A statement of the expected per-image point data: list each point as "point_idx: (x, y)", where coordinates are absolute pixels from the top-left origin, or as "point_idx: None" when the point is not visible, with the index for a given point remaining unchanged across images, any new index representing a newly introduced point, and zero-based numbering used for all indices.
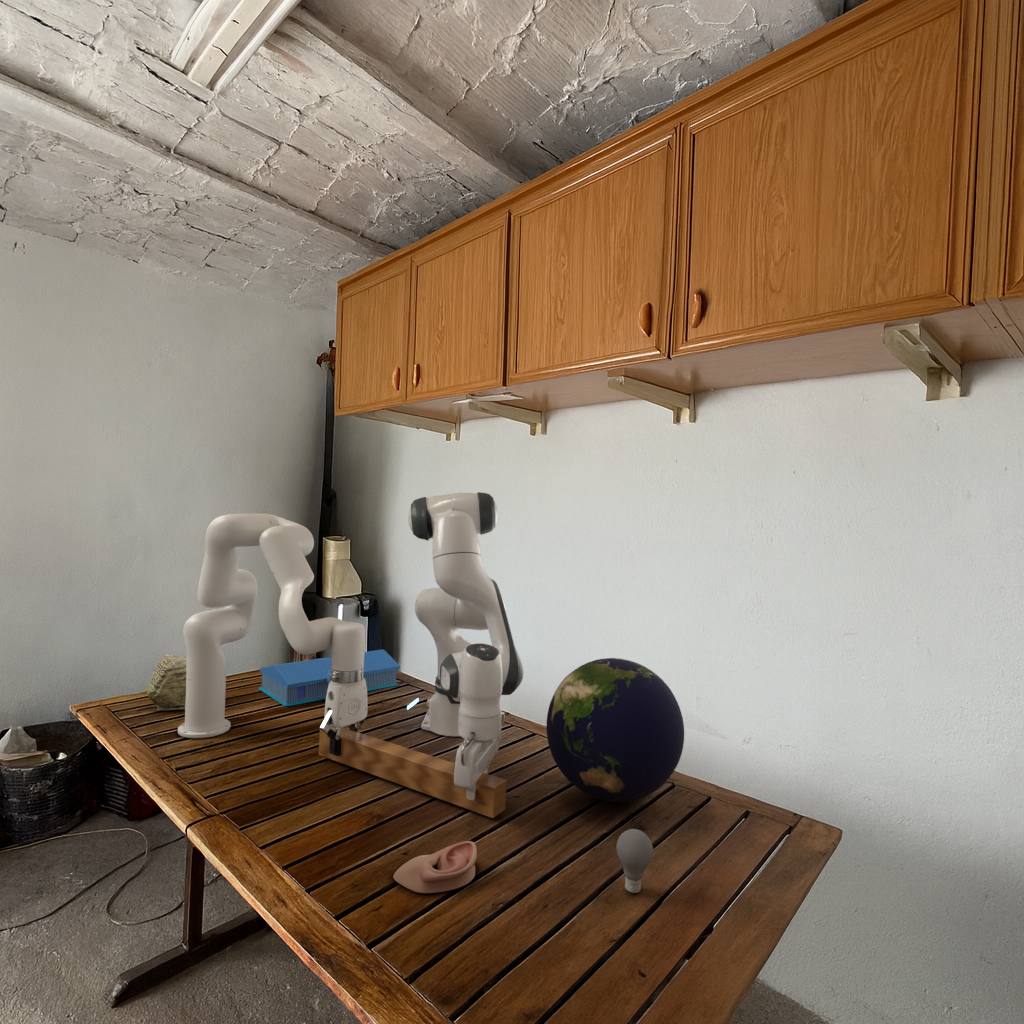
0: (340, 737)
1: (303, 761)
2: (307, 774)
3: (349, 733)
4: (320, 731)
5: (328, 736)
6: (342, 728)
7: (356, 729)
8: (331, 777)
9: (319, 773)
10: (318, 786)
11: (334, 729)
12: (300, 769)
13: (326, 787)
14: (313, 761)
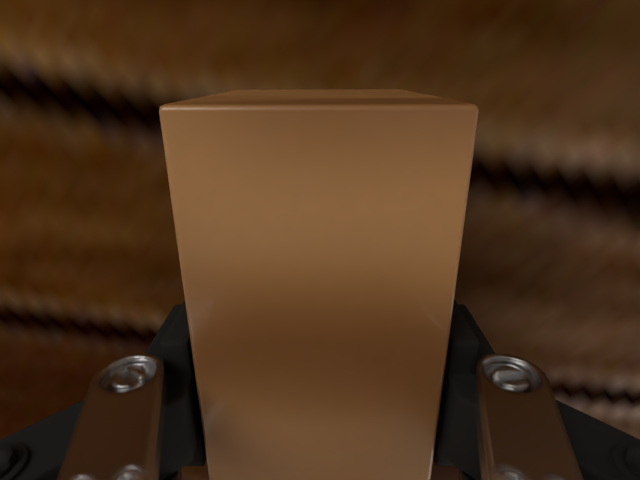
0: (208, 457)
1: (142, 13)
2: (48, 220)
3: (340, 467)
4: (168, 124)
5: (103, 379)
6: (417, 312)
7: (461, 473)
8: (136, 353)
9: (115, 266)
10: (21, 376)
11: (323, 261)
12: (49, 120)
13: (49, 410)
14: (198, 82)
